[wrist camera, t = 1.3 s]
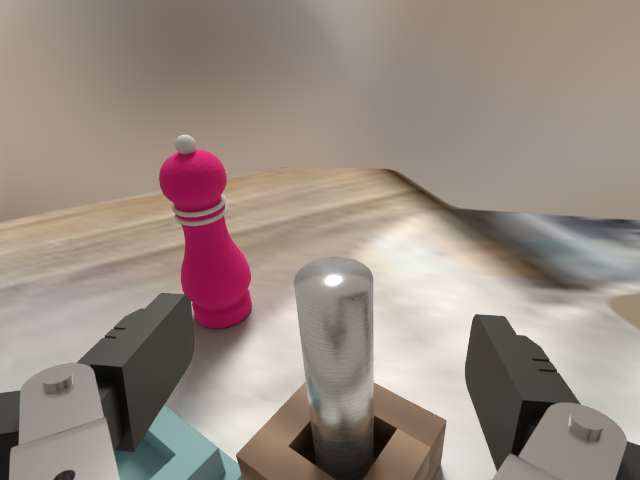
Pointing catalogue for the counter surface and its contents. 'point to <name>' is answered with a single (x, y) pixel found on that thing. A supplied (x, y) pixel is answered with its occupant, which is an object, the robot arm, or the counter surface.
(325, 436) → the axle
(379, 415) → the bore block
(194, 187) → the pepper mill
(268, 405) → the counter surface
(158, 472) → the socket
